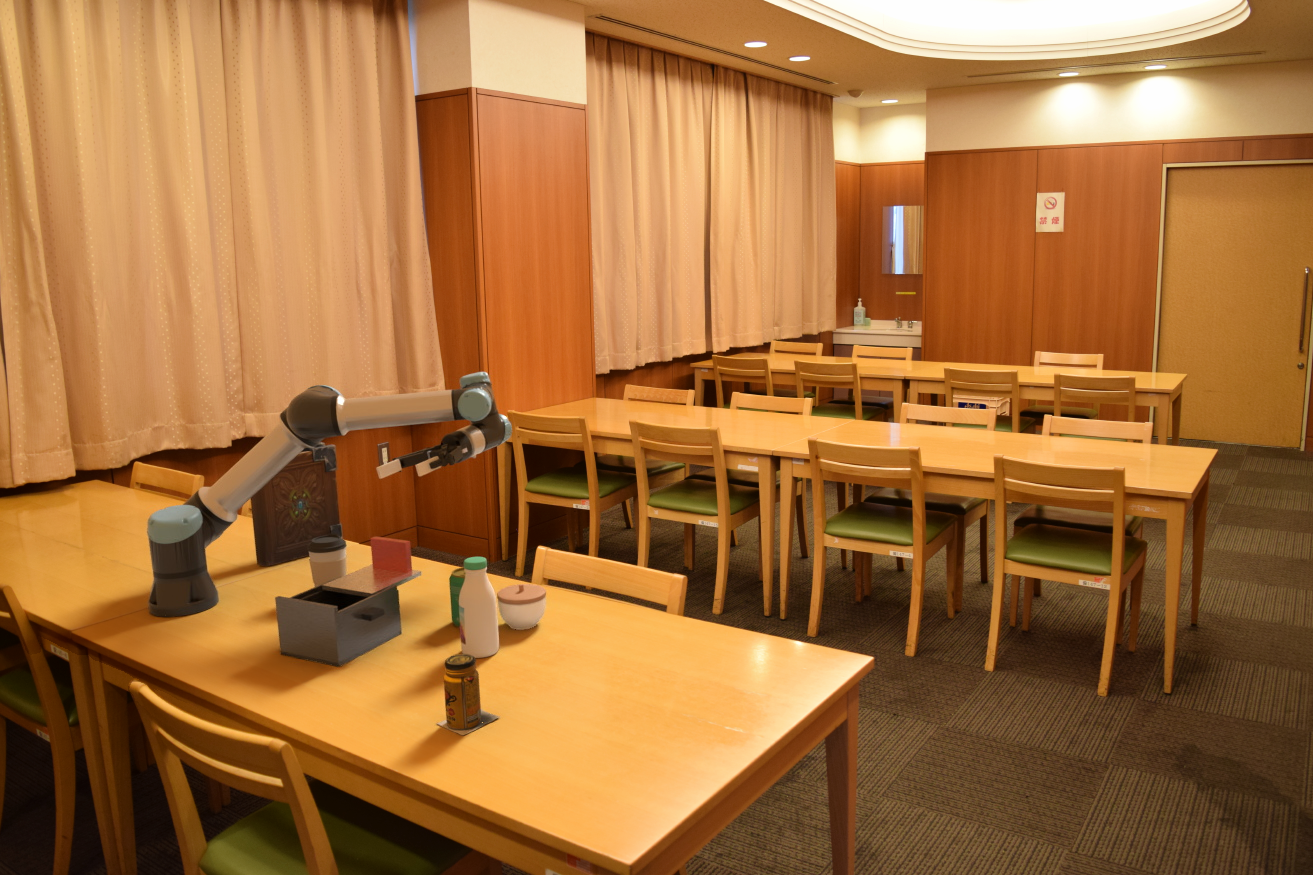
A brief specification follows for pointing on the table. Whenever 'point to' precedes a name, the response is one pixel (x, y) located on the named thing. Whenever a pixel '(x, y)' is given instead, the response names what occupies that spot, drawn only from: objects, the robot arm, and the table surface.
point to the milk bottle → (478, 611)
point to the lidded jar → (522, 605)
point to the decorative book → (297, 506)
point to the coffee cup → (327, 558)
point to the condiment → (463, 696)
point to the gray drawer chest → (336, 624)
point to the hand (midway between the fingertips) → (397, 472)
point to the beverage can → (456, 593)
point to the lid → (378, 569)
